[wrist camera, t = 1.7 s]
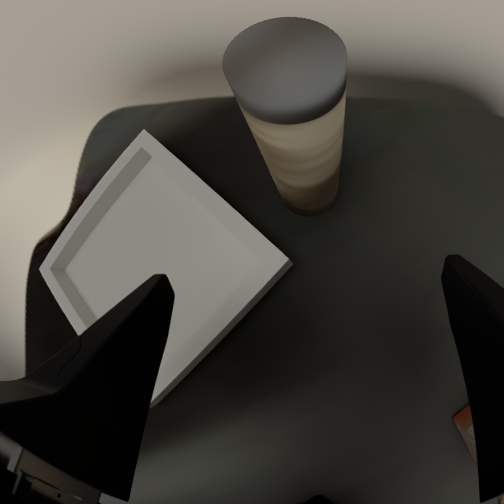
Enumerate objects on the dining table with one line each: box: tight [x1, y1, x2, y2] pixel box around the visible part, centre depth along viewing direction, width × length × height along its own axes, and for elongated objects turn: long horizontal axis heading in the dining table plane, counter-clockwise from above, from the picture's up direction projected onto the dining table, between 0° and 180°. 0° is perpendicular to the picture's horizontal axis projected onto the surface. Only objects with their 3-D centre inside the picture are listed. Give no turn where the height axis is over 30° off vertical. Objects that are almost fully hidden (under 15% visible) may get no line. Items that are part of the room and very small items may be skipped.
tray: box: [39, 130, 293, 408], centre depth 24 cm, size 16×16×3 cm
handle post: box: [222, 17, 347, 216], centre depth 16 cm, size 4×4×14 cm
